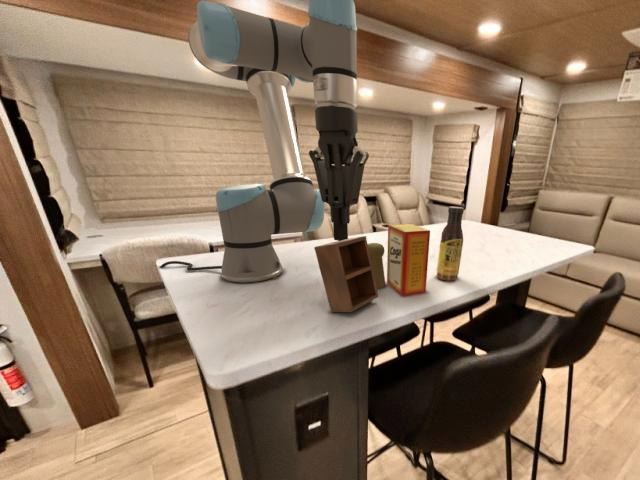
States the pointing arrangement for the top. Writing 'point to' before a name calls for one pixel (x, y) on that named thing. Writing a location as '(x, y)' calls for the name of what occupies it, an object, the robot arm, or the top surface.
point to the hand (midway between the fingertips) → (341, 239)
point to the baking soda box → (407, 258)
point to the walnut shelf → (347, 273)
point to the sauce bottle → (451, 246)
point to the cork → (377, 263)
